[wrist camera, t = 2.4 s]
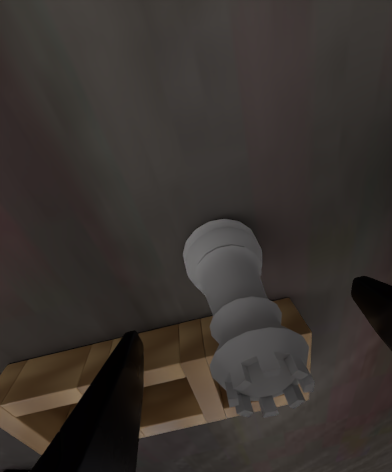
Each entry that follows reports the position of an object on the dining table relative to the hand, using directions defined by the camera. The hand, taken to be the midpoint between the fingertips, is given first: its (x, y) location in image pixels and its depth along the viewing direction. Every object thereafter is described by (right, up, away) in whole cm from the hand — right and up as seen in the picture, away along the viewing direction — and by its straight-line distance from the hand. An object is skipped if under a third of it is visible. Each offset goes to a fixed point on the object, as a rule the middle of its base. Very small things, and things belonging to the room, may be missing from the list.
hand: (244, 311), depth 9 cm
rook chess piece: (-1, +2, +5) cm, 5 cm away
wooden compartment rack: (-5, -7, +9) cm, 13 cm away
